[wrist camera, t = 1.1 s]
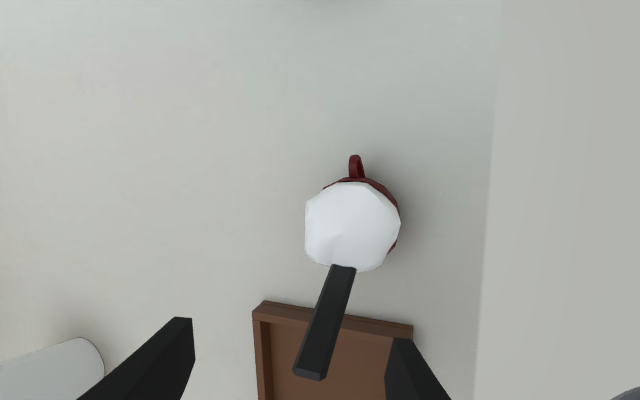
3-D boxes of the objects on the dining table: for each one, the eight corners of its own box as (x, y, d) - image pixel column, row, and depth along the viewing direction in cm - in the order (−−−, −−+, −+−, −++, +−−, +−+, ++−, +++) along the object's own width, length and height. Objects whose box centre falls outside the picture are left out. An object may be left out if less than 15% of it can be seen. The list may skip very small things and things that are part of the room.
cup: (59, 379, 45) (-88, 471, 33) (54, 306, 42) (-108, 374, 30) (119, 417, 41) (-21, 537, 29) (119, 339, 38) (-36, 434, 26)
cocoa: (349, 146, 24) (272, 149, 13) (427, 179, 22) (414, 215, 11) (308, 249, 27) (216, 324, 16) (374, 285, 25) (323, 397, 14)
